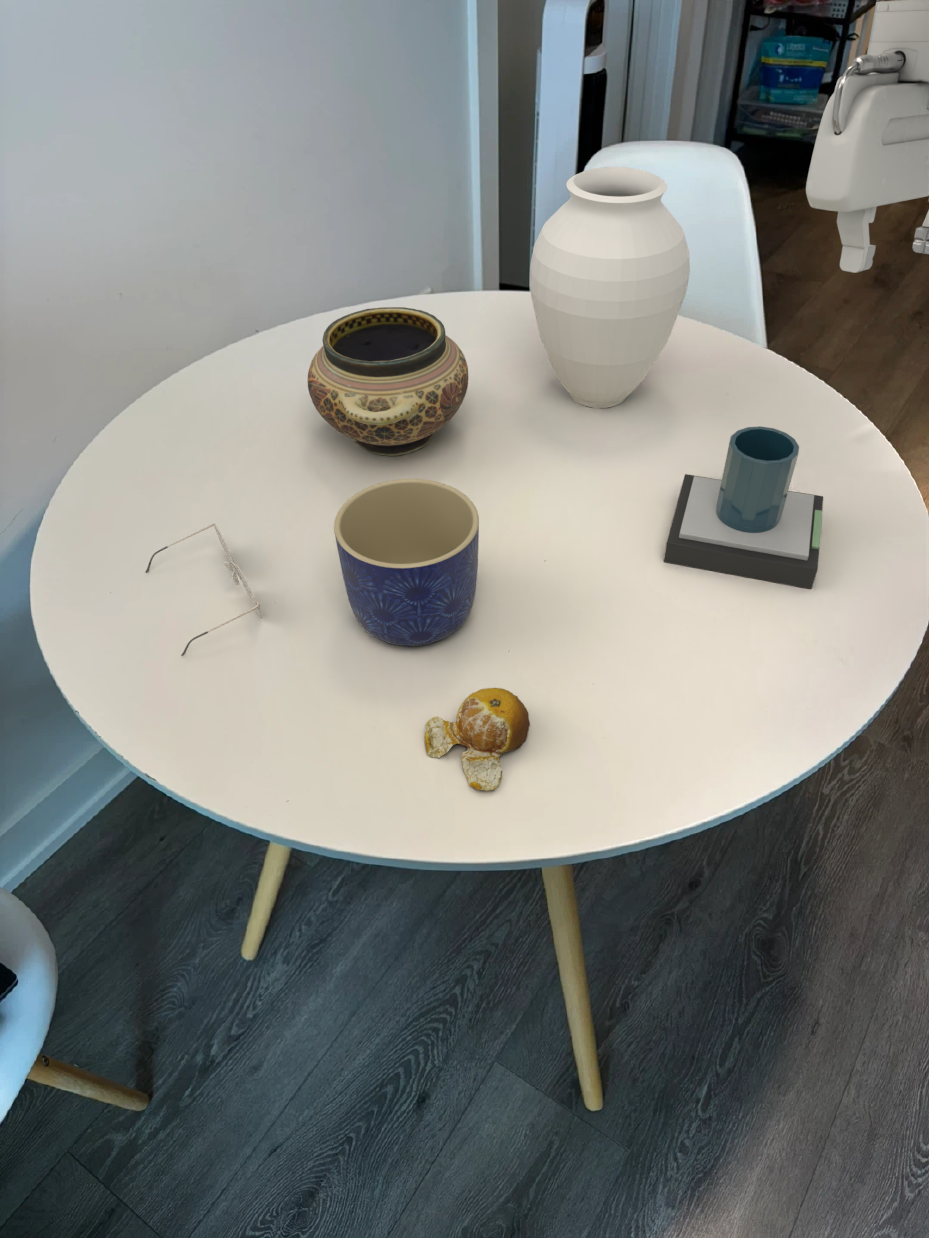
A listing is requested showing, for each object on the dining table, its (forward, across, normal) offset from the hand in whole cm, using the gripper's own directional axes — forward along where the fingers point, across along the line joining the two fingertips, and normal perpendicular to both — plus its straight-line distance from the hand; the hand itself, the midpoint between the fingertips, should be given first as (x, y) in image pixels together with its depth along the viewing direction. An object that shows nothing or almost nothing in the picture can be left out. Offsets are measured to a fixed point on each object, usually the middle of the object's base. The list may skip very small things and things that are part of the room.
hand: (891, 261), depth 71 cm
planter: (+30, -32, +21) cm, 49 cm away
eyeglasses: (+29, -47, +35) cm, 66 cm away
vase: (+23, +8, +40) cm, 47 cm away
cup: (+25, 0, +10) cm, 27 cm away
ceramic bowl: (+24, -17, +48) cm, 56 cm away
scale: (+28, 0, +10) cm, 30 cm away
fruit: (+33, -37, +6) cm, 50 cm away
